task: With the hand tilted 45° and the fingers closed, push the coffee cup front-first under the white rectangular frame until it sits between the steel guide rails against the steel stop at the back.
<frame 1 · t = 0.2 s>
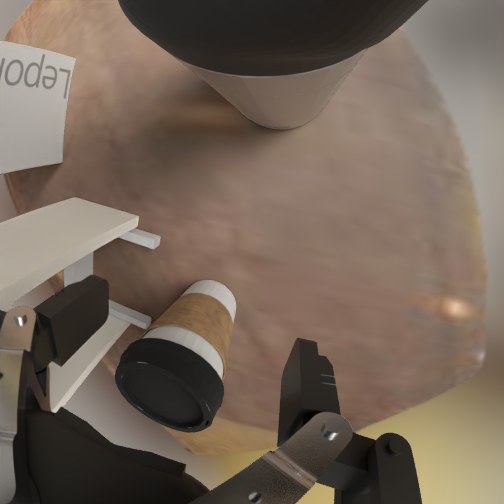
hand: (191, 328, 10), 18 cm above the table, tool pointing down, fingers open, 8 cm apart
white rectangular frame: (100, 263, 31), on the table
tall white box: (54, 111, 25), on the table
coffee cup: (210, 302, 31), on the table
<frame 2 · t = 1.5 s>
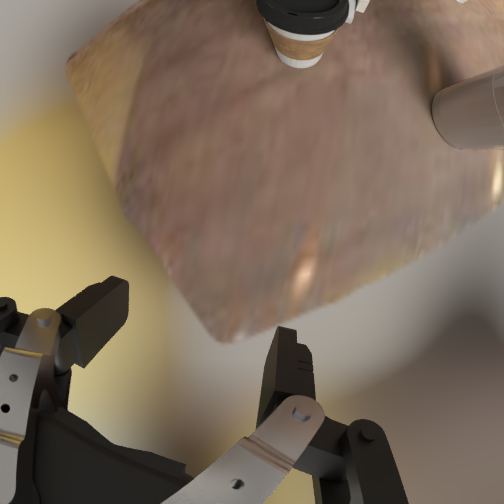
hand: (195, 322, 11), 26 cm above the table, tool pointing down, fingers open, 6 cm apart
coffee cup: (298, 50, 28), on the table
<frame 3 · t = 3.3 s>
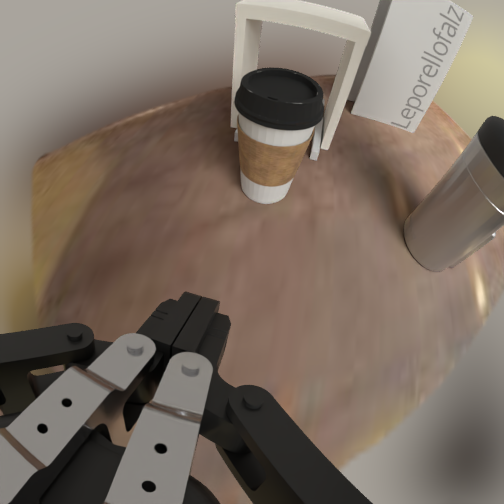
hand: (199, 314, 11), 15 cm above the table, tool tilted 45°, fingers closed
white rectangular frame: (284, 119, 40), on the table
tall white box: (380, 115, 45), on the table
coffee cup: (264, 186, 34), on the table
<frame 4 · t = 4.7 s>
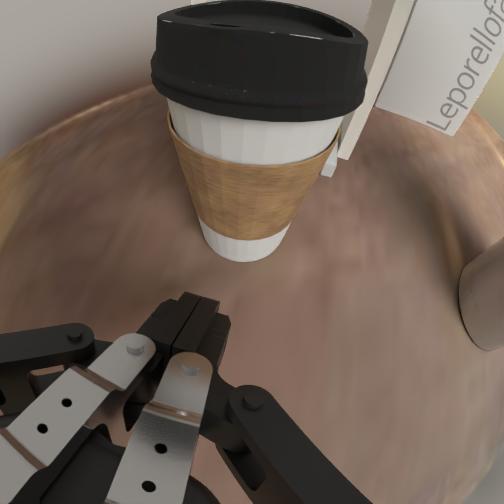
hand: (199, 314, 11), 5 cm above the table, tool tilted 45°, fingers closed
white rectangular frame: (280, 112, 27), on the table
tall white box: (411, 112, 31), on the table
coffee cup: (243, 226, 20), on the table
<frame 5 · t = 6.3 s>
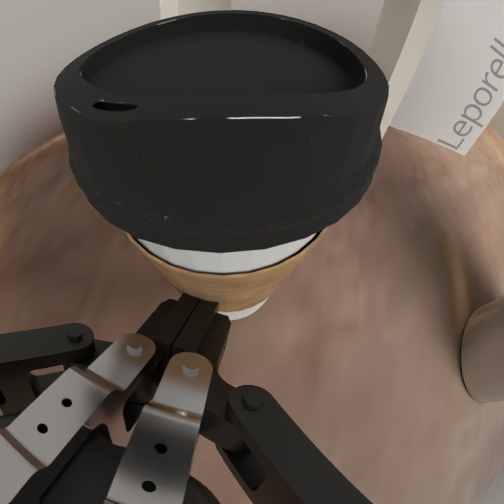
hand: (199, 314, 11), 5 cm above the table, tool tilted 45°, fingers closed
white rectangular frame: (275, 134, 24), on the table
tall white box: (420, 128, 29), on the table
coffee cup: (227, 277, 18), on the table, touching gripper
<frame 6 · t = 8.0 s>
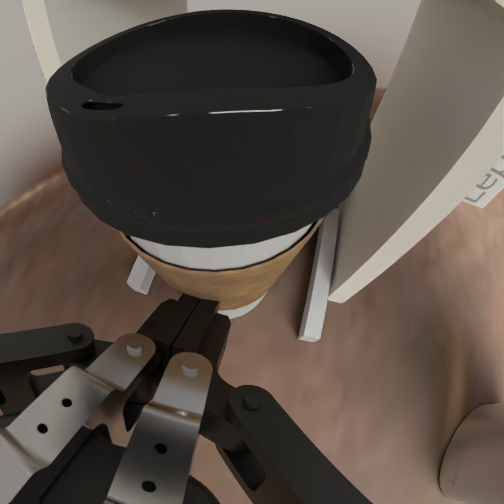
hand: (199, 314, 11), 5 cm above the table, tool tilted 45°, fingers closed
white rectangular frame: (252, 213, 20), on the table
tall white box: (435, 176, 25), on the table
coffee cup: (223, 276, 18), on the table, touching gripper
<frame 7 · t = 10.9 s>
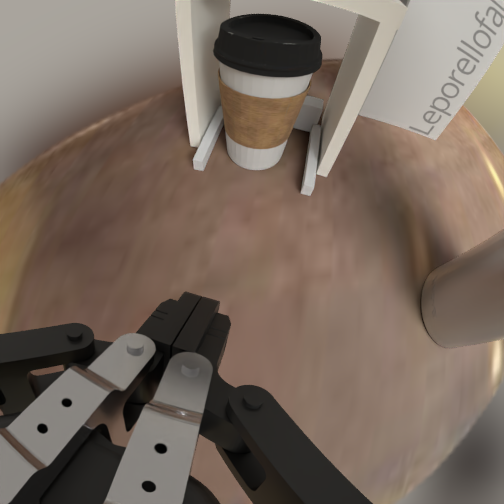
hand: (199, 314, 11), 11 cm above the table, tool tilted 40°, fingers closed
white rectangular frame: (267, 128, 30), on the table
tall white box: (395, 116, 34), on the table
coffee cup: (254, 150, 29), on the table
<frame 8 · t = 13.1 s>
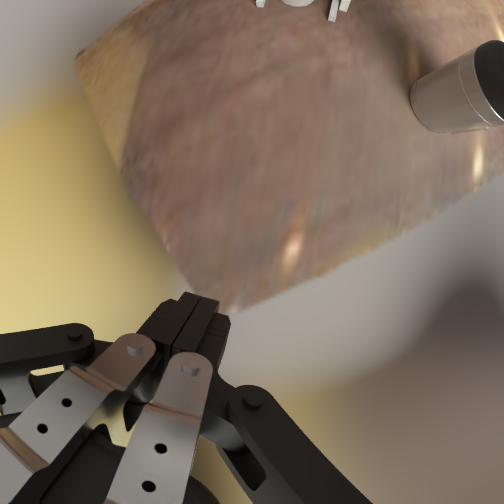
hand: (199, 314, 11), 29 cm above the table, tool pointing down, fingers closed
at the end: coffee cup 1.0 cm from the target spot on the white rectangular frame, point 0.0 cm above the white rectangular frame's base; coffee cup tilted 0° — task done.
